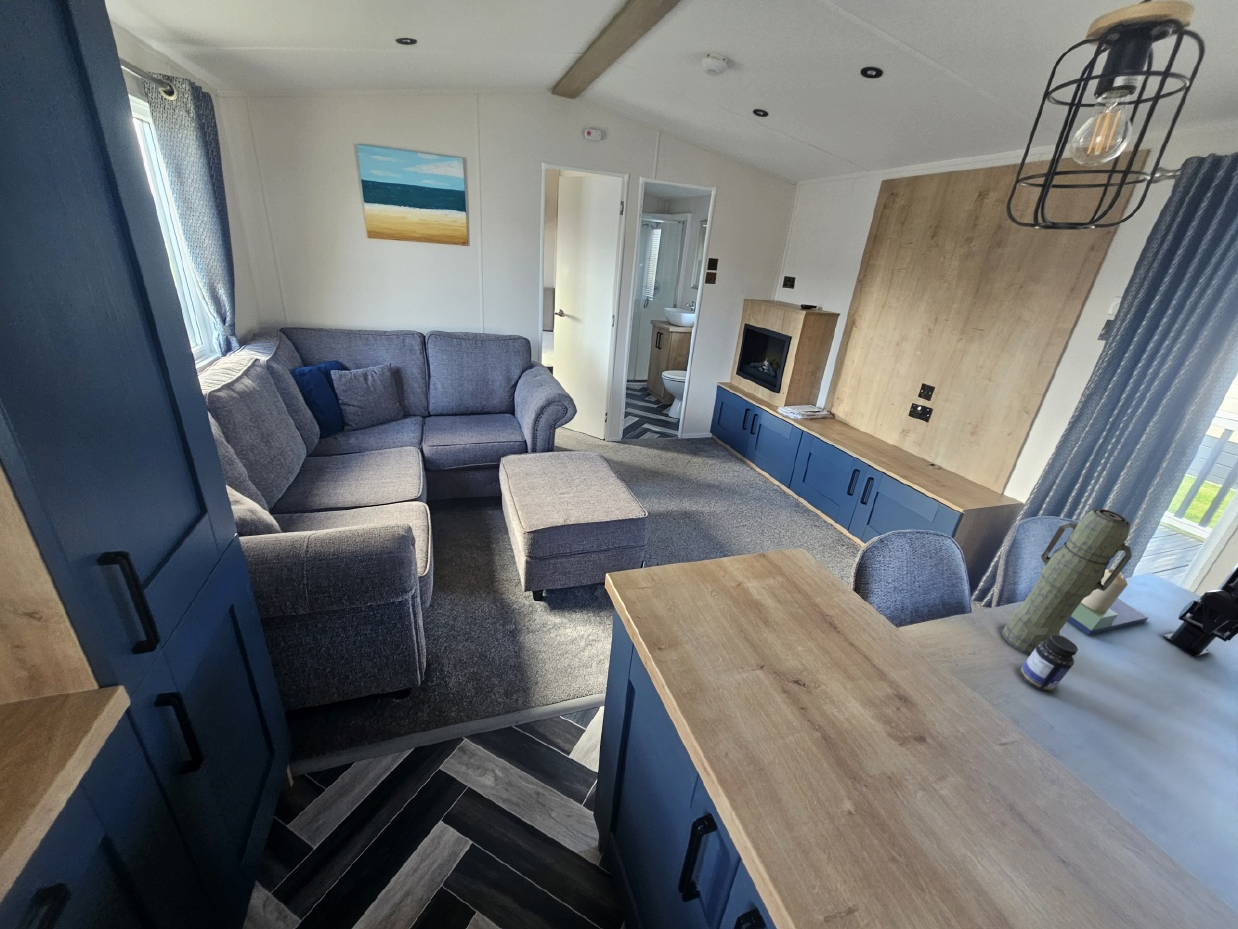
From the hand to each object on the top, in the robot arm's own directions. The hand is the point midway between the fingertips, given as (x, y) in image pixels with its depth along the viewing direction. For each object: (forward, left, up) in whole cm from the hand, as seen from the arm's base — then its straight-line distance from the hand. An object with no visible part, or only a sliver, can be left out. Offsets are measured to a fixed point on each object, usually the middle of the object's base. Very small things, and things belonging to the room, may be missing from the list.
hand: (1216, 629), depth 111 cm
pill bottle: (+41, -6, -13) cm, 43 cm away
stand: (-1, -17, -13) cm, 21 cm away
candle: (+7, -17, -8) cm, 20 cm away
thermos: (+32, -15, -13) cm, 38 cm away
